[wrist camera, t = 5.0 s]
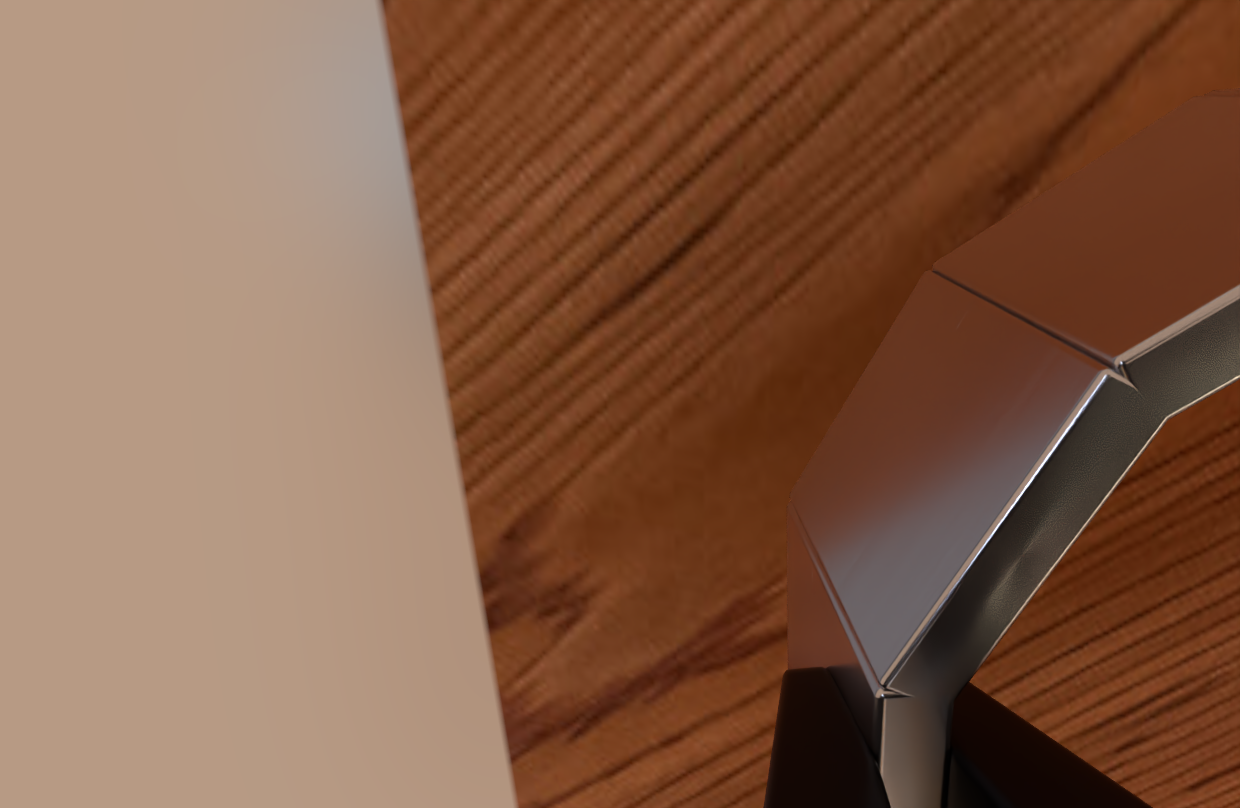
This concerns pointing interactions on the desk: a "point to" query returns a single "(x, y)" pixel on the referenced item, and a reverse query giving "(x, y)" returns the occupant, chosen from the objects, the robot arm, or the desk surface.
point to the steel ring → (1010, 425)
